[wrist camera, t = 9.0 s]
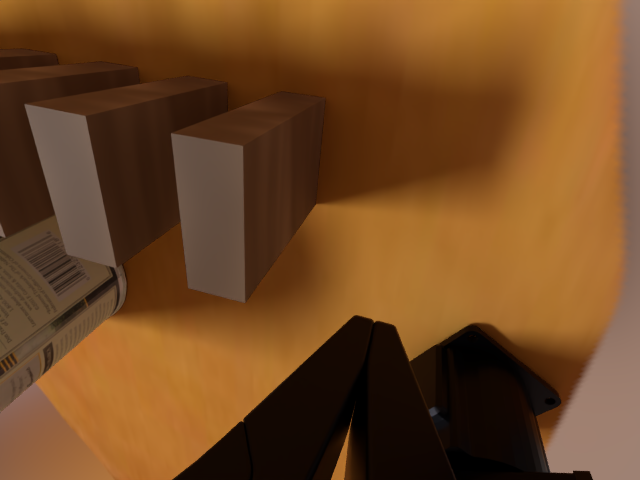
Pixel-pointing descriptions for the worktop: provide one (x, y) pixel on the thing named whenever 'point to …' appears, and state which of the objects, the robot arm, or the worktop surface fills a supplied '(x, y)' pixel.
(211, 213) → the domino
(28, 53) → the domino
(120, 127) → the domino
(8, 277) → the coffee can
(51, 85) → the domino
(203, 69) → the worktop surface
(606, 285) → the worktop surface
